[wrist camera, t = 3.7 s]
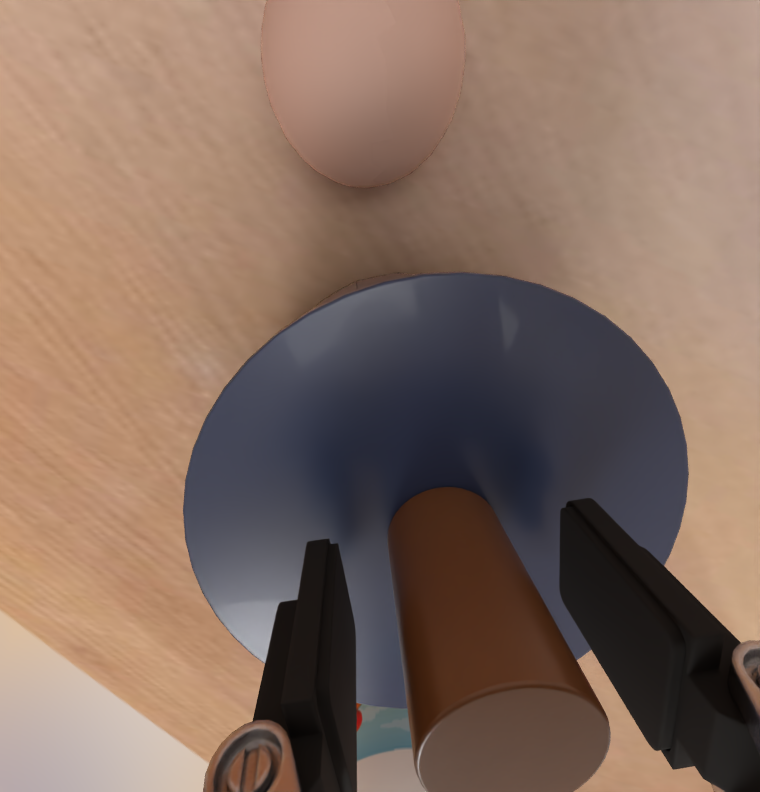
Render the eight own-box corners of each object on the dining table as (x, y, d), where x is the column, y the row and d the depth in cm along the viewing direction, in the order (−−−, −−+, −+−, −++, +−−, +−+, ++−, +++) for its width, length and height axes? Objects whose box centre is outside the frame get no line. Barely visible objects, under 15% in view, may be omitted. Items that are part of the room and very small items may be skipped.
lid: (568, 158, 10) (960, -20, 3) (707, 568, 14) (986, 815, 8) (90, 435, 11) (-242, 662, 5) (351, 728, 16) (350, 1041, 10)
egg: (439, 30, 18) (531, -213, 9) (431, 202, 20) (497, 156, 11) (281, 23, 17) (199, -240, 8) (290, 199, 20) (235, 149, 10)
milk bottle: (444, 559, 27) (654, 1264, 8) (436, 646, 30) (583, 1341, 11) (327, 562, 27) (261, 1320, 8) (328, 650, 29) (282, 1388, 10)
